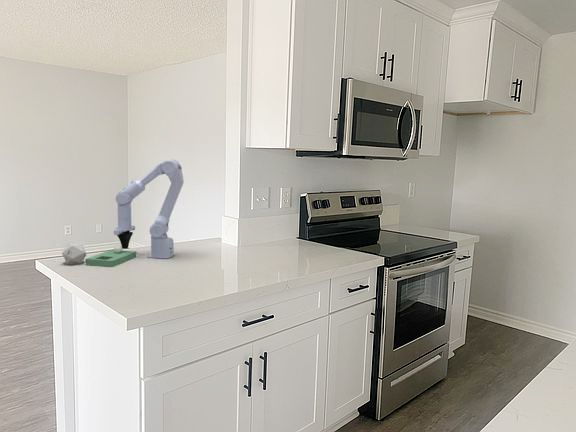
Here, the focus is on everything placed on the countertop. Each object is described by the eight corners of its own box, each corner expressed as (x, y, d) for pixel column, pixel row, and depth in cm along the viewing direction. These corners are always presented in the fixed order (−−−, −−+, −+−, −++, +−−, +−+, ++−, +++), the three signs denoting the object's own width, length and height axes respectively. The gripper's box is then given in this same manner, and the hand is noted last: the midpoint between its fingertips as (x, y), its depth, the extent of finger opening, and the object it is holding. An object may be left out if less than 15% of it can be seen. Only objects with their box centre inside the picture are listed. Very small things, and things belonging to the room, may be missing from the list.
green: (136, 257, 203) (136, 251, 203) (112, 267, 185) (112, 261, 184) (111, 255, 205) (111, 249, 205) (85, 264, 187) (85, 259, 186)
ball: (123, 252, 201) (123, 244, 200) (119, 253, 197) (119, 245, 197) (116, 251, 201) (116, 243, 201) (112, 253, 198) (112, 245, 198)
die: (59, 264, 190) (55, 248, 183) (76, 250, 196) (72, 234, 189) (76, 272, 188) (72, 257, 181) (91, 259, 194) (89, 243, 188)
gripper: (125, 215, 211) (125, 244, 213) (107, 219, 197) (107, 250, 199) (139, 216, 210) (139, 245, 211) (122, 220, 196) (122, 251, 197)
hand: (125, 248), depth 205 cm, fingers closed
